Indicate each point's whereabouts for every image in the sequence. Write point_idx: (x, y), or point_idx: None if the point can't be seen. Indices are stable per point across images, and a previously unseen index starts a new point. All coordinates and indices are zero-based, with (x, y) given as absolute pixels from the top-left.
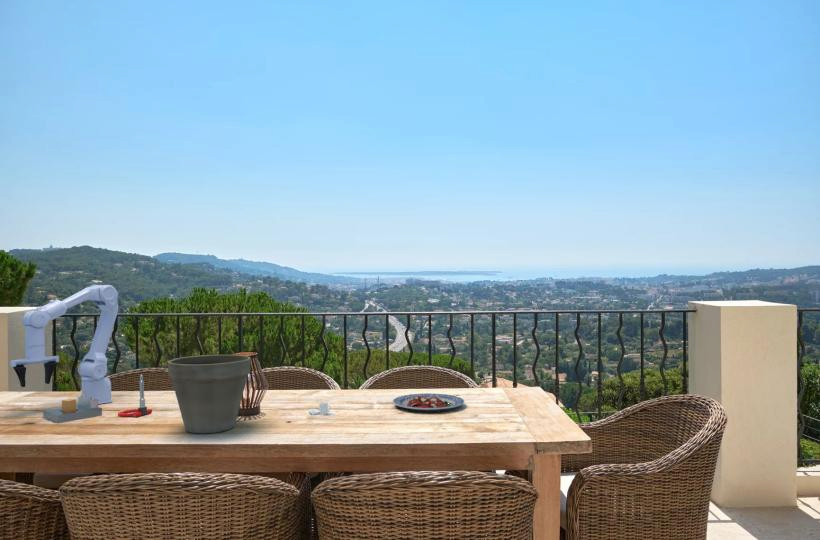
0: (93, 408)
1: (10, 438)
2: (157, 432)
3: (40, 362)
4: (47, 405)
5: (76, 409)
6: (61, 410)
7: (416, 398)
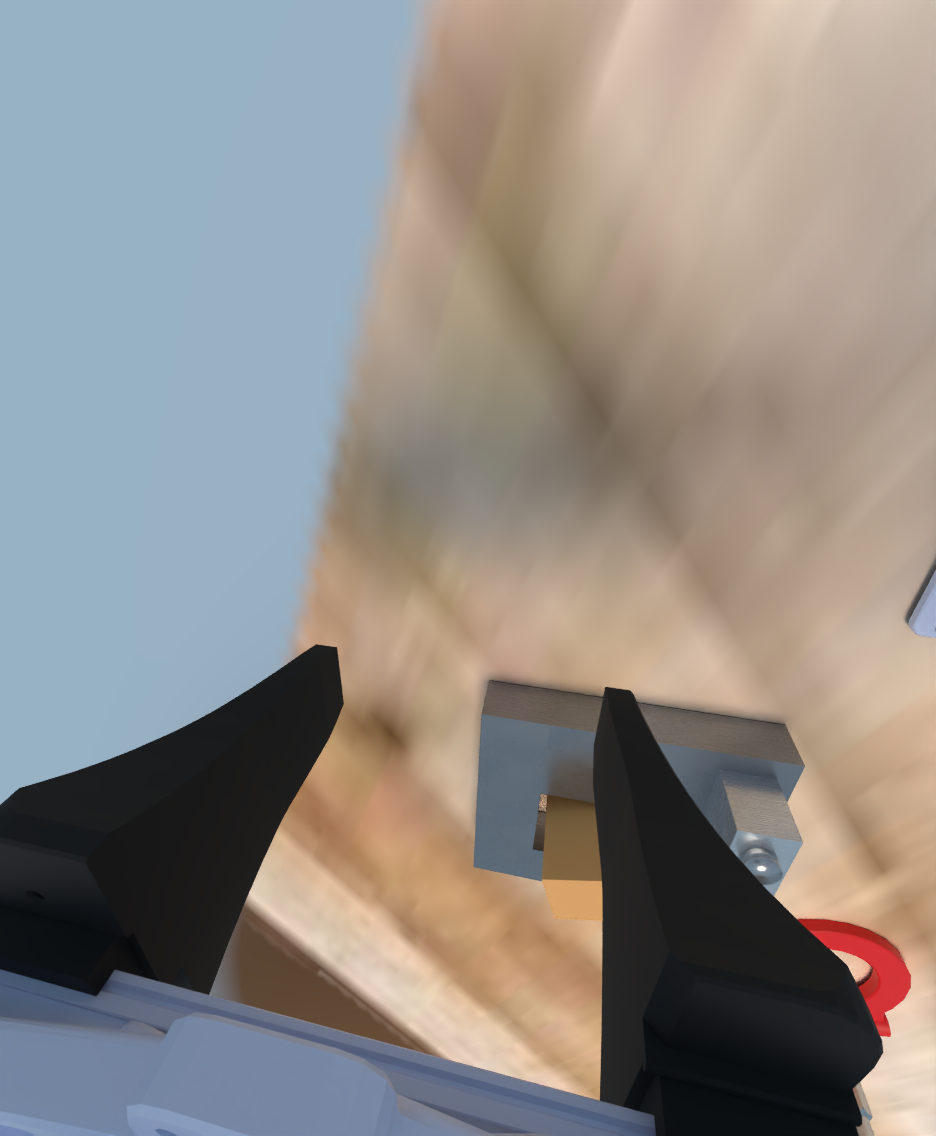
0: None
1: None
2: None
3: (463, 1116)
4: (802, 219)
5: None
6: (555, 795)
7: None
